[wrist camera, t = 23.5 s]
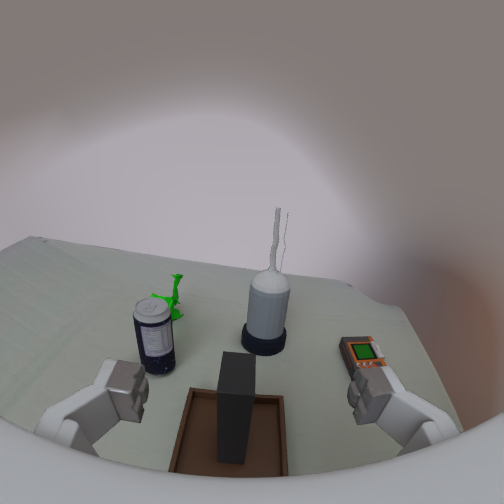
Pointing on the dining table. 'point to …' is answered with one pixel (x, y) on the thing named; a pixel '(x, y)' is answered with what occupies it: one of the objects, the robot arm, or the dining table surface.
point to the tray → (205, 439)
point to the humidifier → (267, 306)
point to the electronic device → (361, 353)
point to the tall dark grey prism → (235, 406)
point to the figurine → (172, 298)
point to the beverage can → (154, 335)
